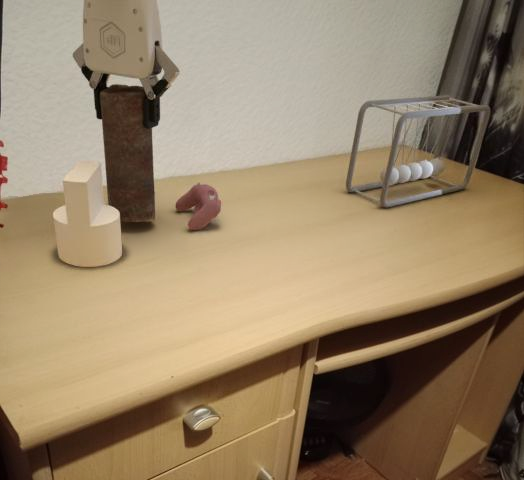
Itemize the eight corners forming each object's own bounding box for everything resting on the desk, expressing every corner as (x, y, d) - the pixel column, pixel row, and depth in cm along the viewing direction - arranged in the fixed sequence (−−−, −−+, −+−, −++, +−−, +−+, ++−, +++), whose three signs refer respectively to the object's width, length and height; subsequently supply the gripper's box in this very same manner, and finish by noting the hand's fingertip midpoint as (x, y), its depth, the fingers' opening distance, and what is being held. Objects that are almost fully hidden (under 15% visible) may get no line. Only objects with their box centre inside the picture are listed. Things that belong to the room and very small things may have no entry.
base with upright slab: (67, 238, 83) (57, 158, 76) (127, 242, 84) (122, 164, 77) (50, 264, 76) (37, 178, 69) (115, 269, 76) (109, 184, 69)
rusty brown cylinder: (137, 232, 84) (131, 93, 73) (98, 221, 87) (87, 84, 75) (164, 217, 90) (162, 86, 79) (127, 207, 92) (120, 78, 81)
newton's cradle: (430, 175, 129) (452, 94, 119) (467, 189, 123) (494, 105, 112) (342, 193, 112) (359, 100, 102) (380, 210, 106) (402, 113, 96)
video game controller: (210, 239, 91) (230, 202, 89) (187, 229, 88) (206, 191, 86) (194, 216, 98) (212, 182, 96) (172, 207, 96) (190, 171, 93)
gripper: (44, -32, 69) (61, 116, 79) (168, -16, 65) (168, 138, 75) (80, -30, 74) (91, 108, 85) (195, -15, 71) (192, 127, 81)
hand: (127, 121), depth 80 cm, fingers closed on rusty brown cylinder, 7 cm apart
